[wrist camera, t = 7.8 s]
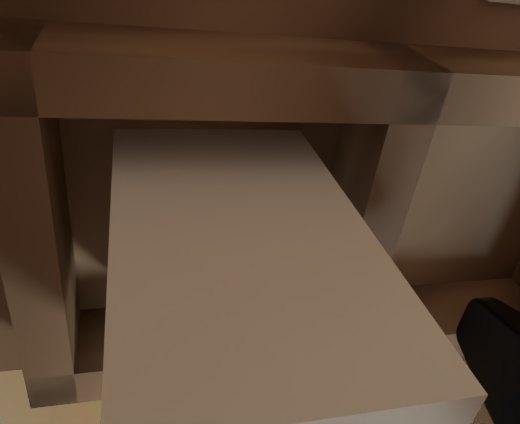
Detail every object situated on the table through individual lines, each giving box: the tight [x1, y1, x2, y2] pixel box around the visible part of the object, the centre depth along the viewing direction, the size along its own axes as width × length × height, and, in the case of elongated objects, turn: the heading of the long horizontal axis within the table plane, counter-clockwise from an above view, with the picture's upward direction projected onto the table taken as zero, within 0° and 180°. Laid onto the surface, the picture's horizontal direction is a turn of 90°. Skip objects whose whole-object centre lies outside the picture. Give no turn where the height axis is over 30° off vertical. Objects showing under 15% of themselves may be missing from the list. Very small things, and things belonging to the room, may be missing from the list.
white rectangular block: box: [101, 128, 488, 424], centre depth 9 cm, size 4×4×7 cm
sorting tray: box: [0, 0, 520, 408], centre depth 11 cm, size 18×14×3 cm
